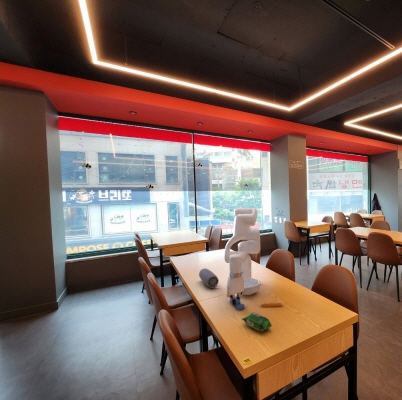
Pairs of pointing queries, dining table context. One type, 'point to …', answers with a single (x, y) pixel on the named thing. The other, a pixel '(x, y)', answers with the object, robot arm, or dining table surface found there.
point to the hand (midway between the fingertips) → (235, 304)
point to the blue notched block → (238, 304)
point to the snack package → (257, 322)
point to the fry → (271, 304)
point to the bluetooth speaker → (208, 278)
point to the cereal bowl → (251, 286)
